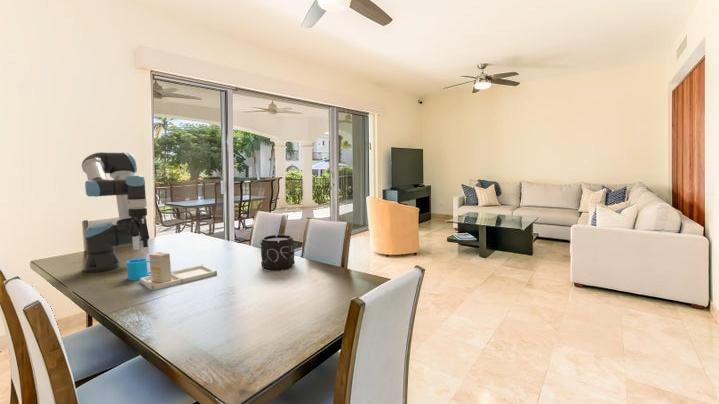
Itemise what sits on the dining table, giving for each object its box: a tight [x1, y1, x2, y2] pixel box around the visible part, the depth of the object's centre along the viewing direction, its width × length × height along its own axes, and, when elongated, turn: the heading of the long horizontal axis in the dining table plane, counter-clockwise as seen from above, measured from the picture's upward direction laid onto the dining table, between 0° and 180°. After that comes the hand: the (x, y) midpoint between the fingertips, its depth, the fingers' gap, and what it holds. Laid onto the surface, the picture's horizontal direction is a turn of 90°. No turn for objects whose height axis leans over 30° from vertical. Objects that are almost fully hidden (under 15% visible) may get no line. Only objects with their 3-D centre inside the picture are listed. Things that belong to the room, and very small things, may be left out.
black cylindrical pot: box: [260, 234, 296, 272], centre depth 185 cm, size 18×18×16 cm
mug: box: [126, 258, 151, 281], centre depth 171 cm, size 12×8×8 cm
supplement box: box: [148, 251, 172, 283], centre depth 161 cm, size 8×5×13 cm, turn 65°
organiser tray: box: [139, 264, 218, 292], centre depth 168 cm, size 16×29×2 cm, turn 137°
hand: (140, 251), depth 169 cm, fingers open, 13 cm apart
